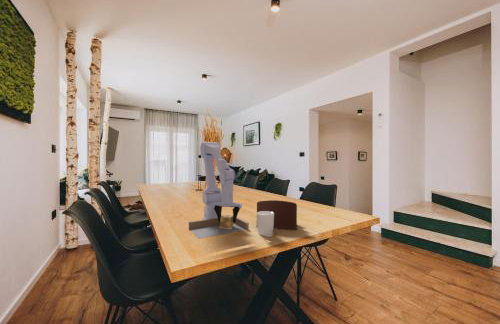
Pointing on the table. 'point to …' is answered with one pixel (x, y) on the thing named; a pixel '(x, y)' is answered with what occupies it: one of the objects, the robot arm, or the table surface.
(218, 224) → the arena
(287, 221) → the letter holder
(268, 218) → the white cup
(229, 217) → the ochre block
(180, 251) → the table surface
